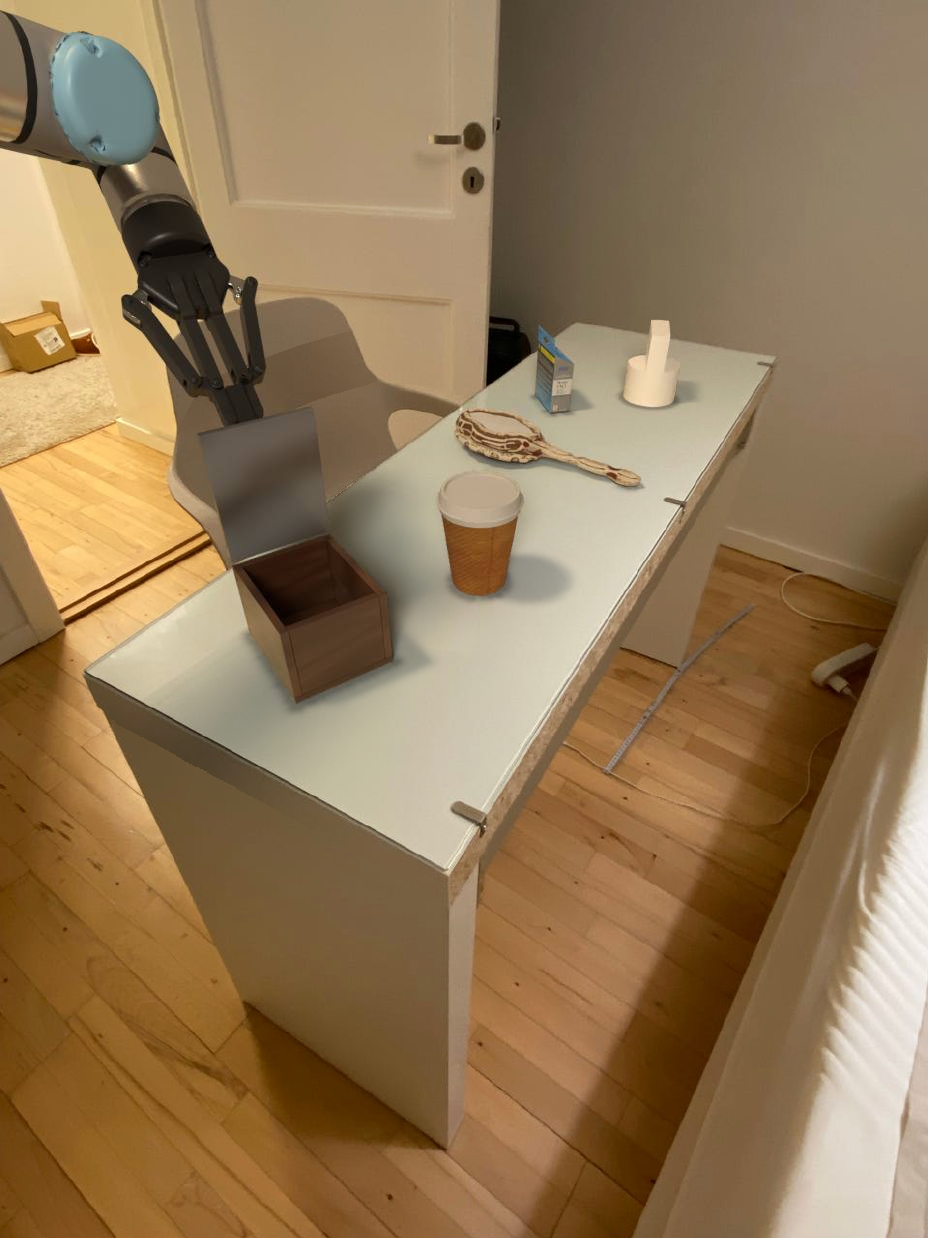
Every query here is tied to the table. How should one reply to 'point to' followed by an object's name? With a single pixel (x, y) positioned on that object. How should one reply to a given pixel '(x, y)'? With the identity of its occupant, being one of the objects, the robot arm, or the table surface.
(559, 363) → the ink cartridge box
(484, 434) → the hand mirror
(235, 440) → the lid
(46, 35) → the robot arm
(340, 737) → the table surface
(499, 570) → the disposable coffee cup
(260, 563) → the box
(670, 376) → the cylinder with rectangular tab
